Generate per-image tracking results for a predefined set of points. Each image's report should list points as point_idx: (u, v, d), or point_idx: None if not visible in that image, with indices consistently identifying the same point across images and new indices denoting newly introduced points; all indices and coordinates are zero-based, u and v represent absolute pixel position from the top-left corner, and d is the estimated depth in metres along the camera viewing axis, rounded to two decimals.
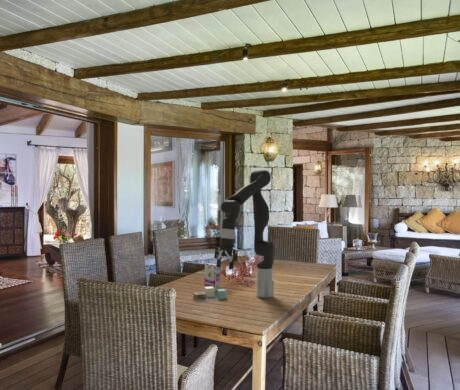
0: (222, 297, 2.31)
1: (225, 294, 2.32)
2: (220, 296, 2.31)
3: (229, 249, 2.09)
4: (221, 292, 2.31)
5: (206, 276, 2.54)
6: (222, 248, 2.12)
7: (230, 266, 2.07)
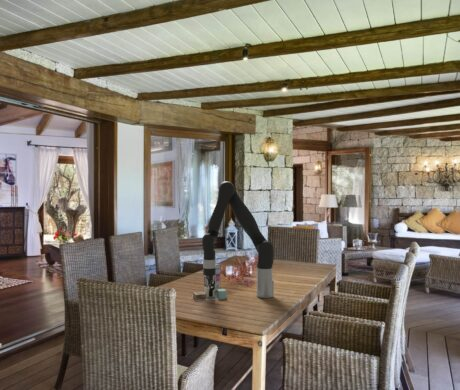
0: (222, 297, 2.31)
1: (225, 294, 2.32)
2: (220, 296, 2.31)
3: (209, 278, 2.34)
4: (221, 292, 2.31)
5: None
6: (206, 276, 2.38)
7: (209, 294, 2.34)
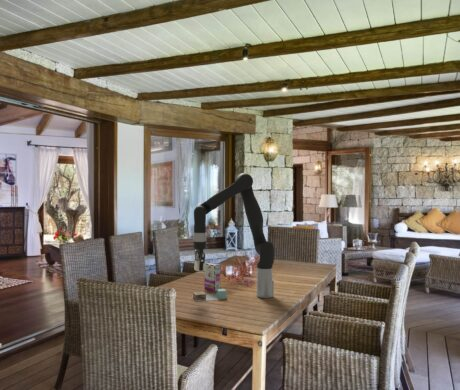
0: (222, 297, 2.31)
1: (225, 294, 2.32)
2: (220, 296, 2.31)
3: (199, 251, 2.28)
4: (221, 292, 2.31)
5: (206, 276, 2.54)
6: (197, 250, 2.33)
7: (199, 267, 2.28)
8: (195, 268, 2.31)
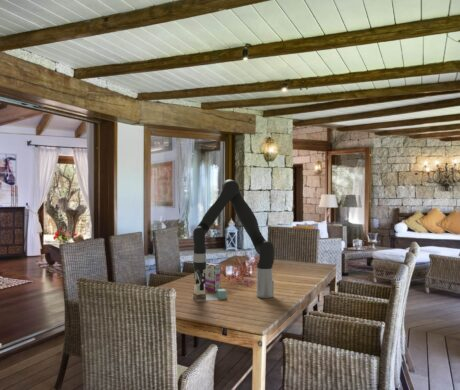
0: (222, 297, 2.31)
1: (225, 294, 2.32)
2: (220, 296, 2.31)
3: (199, 272, 2.28)
4: (221, 292, 2.31)
5: (206, 276, 2.54)
6: (196, 270, 2.33)
7: (200, 287, 2.27)
8: (195, 291, 2.31)
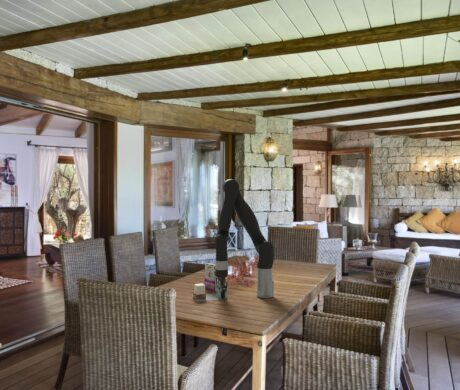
0: None
1: (225, 294, 2.32)
2: (220, 296, 2.31)
3: (221, 279, 2.30)
4: None
5: (206, 276, 2.54)
6: (218, 277, 2.35)
7: (221, 295, 2.31)
8: (195, 291, 2.31)
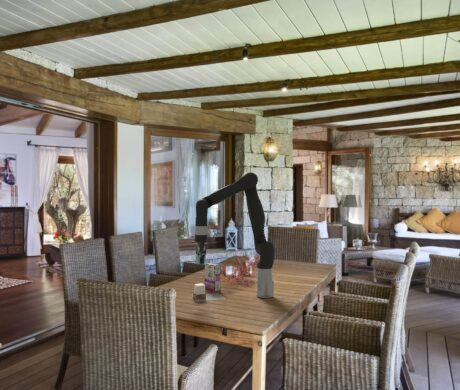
0: None
1: (204, 260, 2.30)
2: (199, 262, 2.29)
3: (200, 244, 2.28)
4: None
5: (206, 276, 2.54)
6: (198, 243, 2.33)
7: (200, 261, 2.28)
8: (195, 291, 2.31)
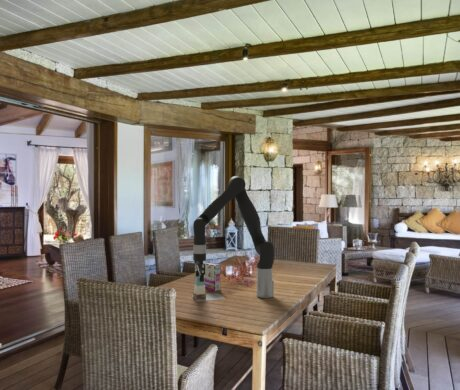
0: (199, 284, 2.29)
1: None
2: (198, 283, 2.29)
3: (199, 263, 2.28)
4: (199, 279, 2.29)
5: (206, 276, 2.54)
6: (196, 262, 2.33)
7: (200, 279, 2.27)
8: (195, 291, 2.31)
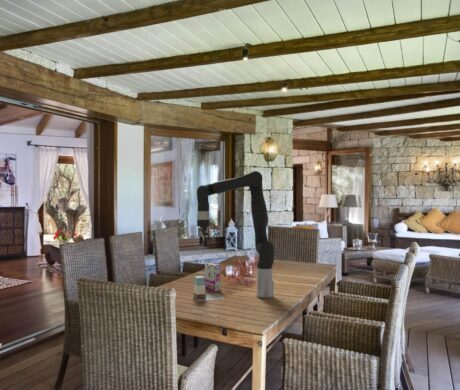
0: (199, 284, 2.29)
1: (203, 281, 2.30)
2: (198, 283, 2.29)
3: (203, 229, 2.35)
4: (199, 279, 2.29)
5: (206, 276, 2.54)
6: (200, 228, 2.40)
7: (204, 244, 2.34)
8: (195, 291, 2.31)
